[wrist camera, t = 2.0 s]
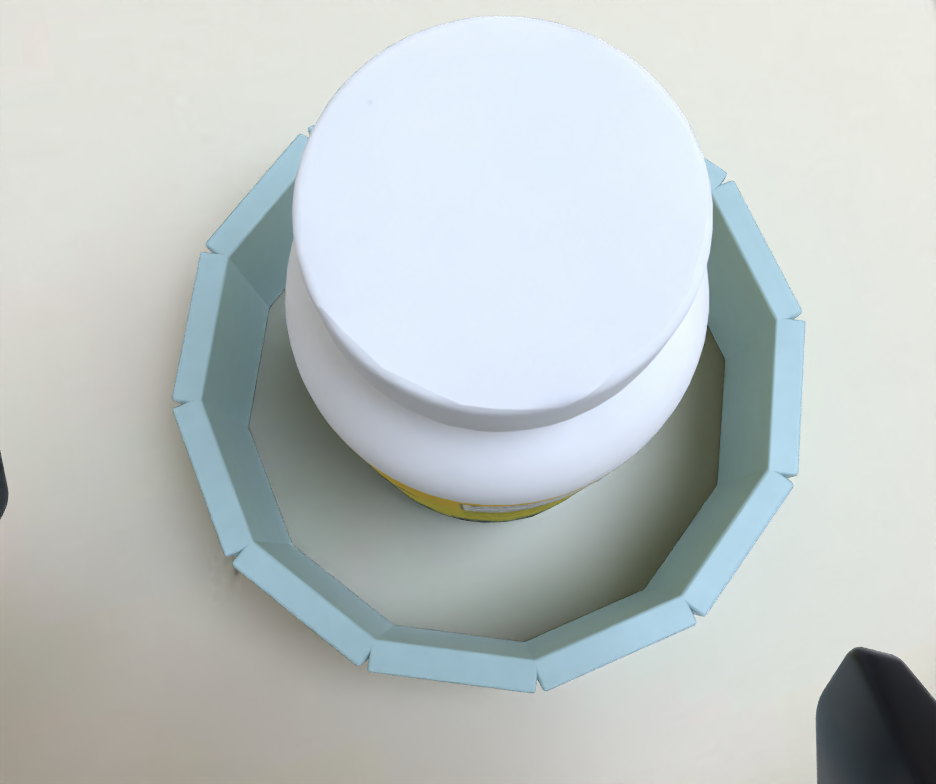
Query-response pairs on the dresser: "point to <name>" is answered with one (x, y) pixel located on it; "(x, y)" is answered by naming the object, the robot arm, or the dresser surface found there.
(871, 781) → the robot arm
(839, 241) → the dresser surface
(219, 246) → the light blue ring
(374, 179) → the pill bottle
